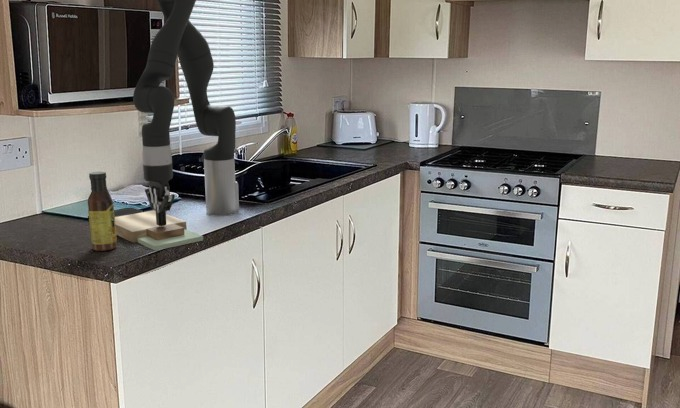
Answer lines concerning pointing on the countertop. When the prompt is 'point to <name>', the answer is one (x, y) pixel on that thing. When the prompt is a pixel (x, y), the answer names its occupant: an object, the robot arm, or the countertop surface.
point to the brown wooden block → (165, 231)
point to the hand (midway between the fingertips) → (161, 225)
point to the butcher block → (141, 224)
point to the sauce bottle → (101, 214)
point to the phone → (125, 211)
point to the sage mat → (170, 240)
